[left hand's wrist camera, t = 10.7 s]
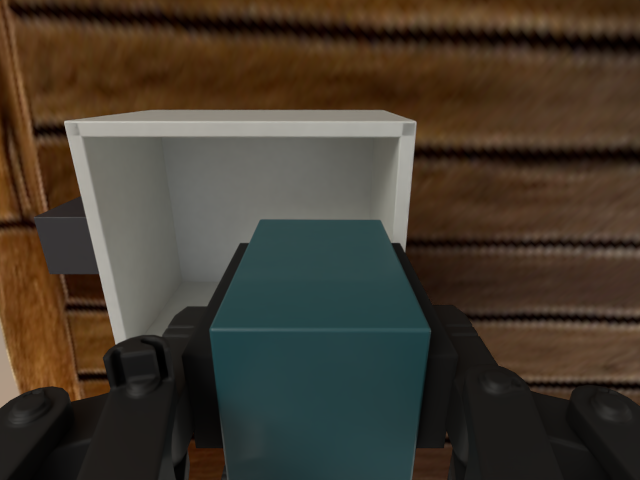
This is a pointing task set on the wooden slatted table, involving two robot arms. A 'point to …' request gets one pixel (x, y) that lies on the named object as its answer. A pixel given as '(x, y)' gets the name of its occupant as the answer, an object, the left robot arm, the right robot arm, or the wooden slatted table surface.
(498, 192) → the wooden slatted table surface
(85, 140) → the handled box
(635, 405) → the left robot arm
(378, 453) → the teal block
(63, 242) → the charcoal block
